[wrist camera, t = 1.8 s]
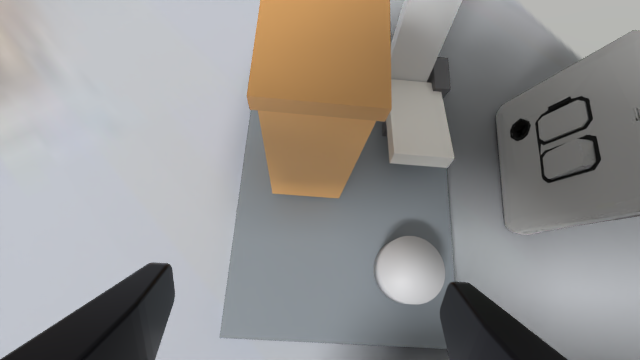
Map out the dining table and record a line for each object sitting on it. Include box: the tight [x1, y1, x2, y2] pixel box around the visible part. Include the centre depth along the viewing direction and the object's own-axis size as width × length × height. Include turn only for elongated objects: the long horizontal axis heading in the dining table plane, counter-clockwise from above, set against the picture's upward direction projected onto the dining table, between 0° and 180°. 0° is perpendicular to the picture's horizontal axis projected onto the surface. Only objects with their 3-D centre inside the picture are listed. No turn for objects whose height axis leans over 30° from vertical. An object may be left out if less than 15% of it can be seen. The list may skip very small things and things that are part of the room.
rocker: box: [386, 79, 455, 168], centre depth 21 cm, size 6×4×1 cm, turn 177°
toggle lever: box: [391, 0, 462, 82], centre depth 19 cm, size 2×3×9 cm
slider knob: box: [247, 0, 392, 198], centre depth 16 cm, size 4×4×11 cm
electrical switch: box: [496, 30, 640, 235], centre depth 20 cm, size 9×5×9 cm, turn 174°
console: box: [220, 57, 455, 349], centre depth 21 cm, size 18×13×3 cm
